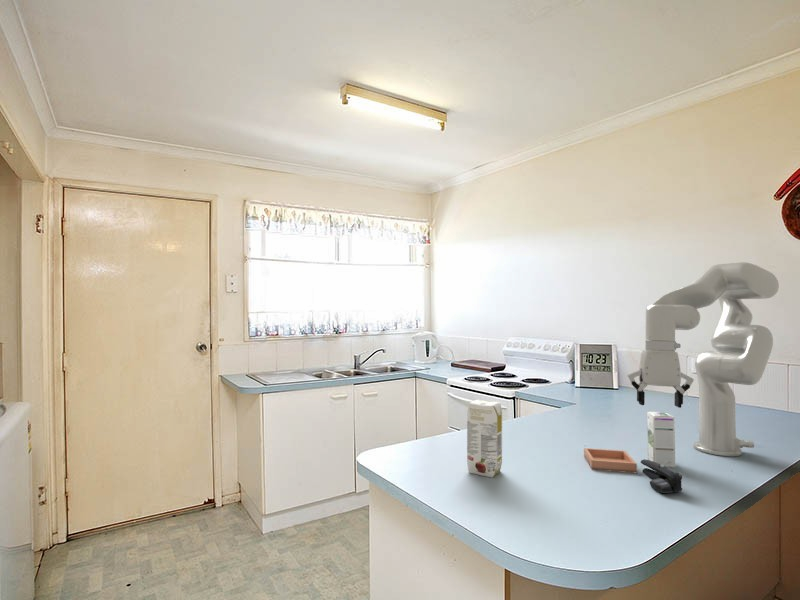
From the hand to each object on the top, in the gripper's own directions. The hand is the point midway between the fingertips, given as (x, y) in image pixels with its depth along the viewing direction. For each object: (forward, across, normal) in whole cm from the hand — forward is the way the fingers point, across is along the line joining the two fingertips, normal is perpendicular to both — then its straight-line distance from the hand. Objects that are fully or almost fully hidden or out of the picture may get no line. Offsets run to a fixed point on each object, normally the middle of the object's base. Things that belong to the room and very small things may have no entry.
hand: (659, 405), depth 131 cm
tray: (+17, +14, +3) cm, 23 cm away
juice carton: (+18, +49, +18) cm, 56 cm away
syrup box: (+17, -1, -1) cm, 17 cm away
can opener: (+18, +5, +16) cm, 24 cm away
